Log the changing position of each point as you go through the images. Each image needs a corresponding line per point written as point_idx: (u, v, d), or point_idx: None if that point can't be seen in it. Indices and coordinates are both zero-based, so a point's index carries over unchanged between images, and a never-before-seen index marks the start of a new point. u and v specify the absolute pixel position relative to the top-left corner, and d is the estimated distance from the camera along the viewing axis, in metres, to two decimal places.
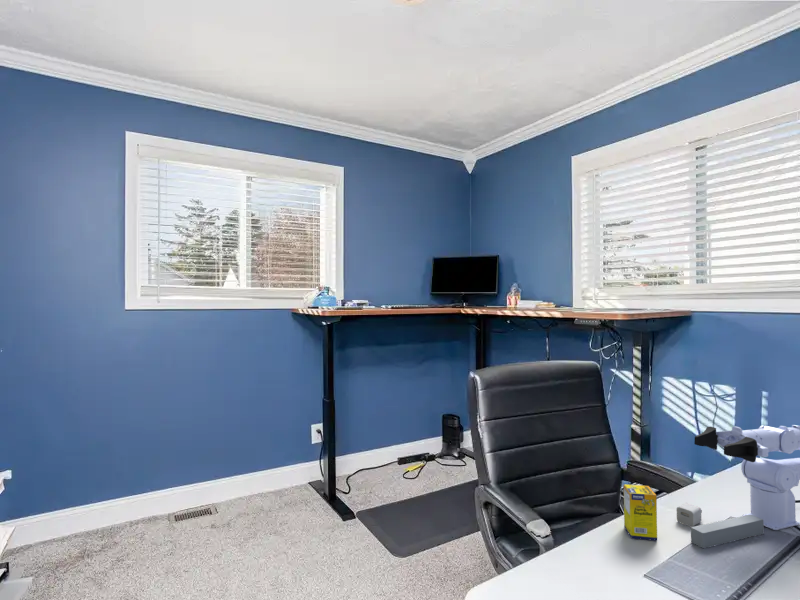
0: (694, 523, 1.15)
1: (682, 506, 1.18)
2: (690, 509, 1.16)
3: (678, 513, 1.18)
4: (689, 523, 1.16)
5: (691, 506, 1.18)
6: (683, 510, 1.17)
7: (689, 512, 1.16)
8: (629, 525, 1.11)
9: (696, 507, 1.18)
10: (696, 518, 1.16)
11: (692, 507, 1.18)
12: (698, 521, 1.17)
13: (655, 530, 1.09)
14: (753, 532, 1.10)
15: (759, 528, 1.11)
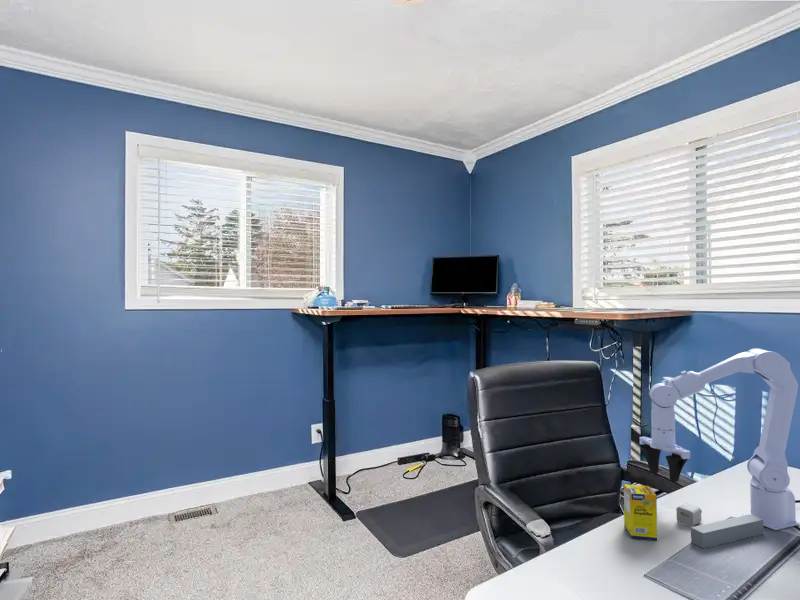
0: (694, 523, 1.15)
1: (682, 506, 1.18)
2: (690, 509, 1.16)
3: (678, 513, 1.18)
4: (689, 523, 1.16)
5: (691, 506, 1.18)
6: (683, 510, 1.17)
7: (689, 512, 1.16)
8: (629, 525, 1.11)
9: (696, 507, 1.17)
10: (696, 518, 1.16)
11: (692, 507, 1.18)
12: (698, 521, 1.16)
13: (655, 530, 1.09)
14: (753, 532, 1.10)
15: (759, 528, 1.11)
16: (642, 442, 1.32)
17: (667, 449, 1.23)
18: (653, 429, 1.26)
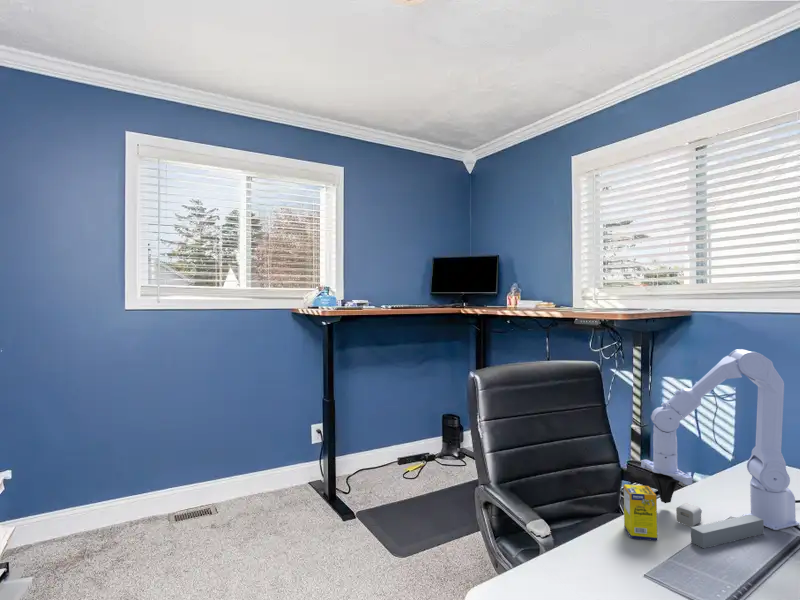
0: (694, 523, 1.15)
1: (682, 506, 1.18)
2: (690, 509, 1.16)
3: (678, 513, 1.18)
4: (689, 523, 1.16)
5: (691, 506, 1.18)
6: (683, 510, 1.17)
7: (689, 512, 1.16)
8: (629, 525, 1.11)
9: (696, 507, 1.17)
10: (696, 518, 1.16)
11: (691, 507, 1.18)
12: (698, 521, 1.16)
13: (655, 530, 1.09)
14: (753, 532, 1.10)
15: (759, 528, 1.11)
16: (644, 465, 1.31)
17: (669, 474, 1.22)
18: (655, 453, 1.26)
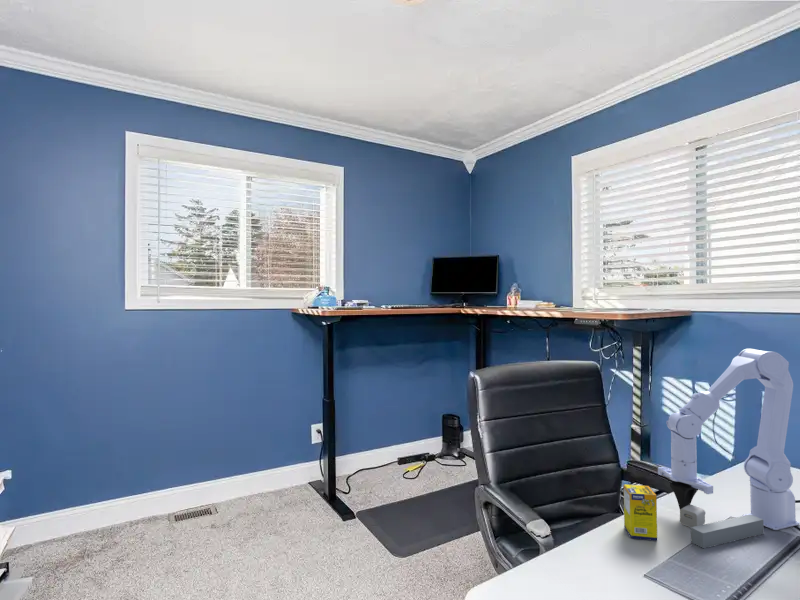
0: (697, 525, 1.14)
1: (685, 508, 1.17)
2: (694, 511, 1.15)
3: (681, 515, 1.17)
4: (692, 525, 1.15)
5: (695, 508, 1.17)
6: (686, 512, 1.16)
7: (693, 514, 1.15)
8: (629, 525, 1.11)
9: (700, 509, 1.16)
10: (699, 520, 1.15)
11: (695, 509, 1.16)
12: (702, 523, 1.15)
13: (655, 530, 1.09)
14: (753, 532, 1.10)
15: (759, 528, 1.11)
16: (661, 473, 1.26)
17: (688, 482, 1.17)
18: (673, 460, 1.20)
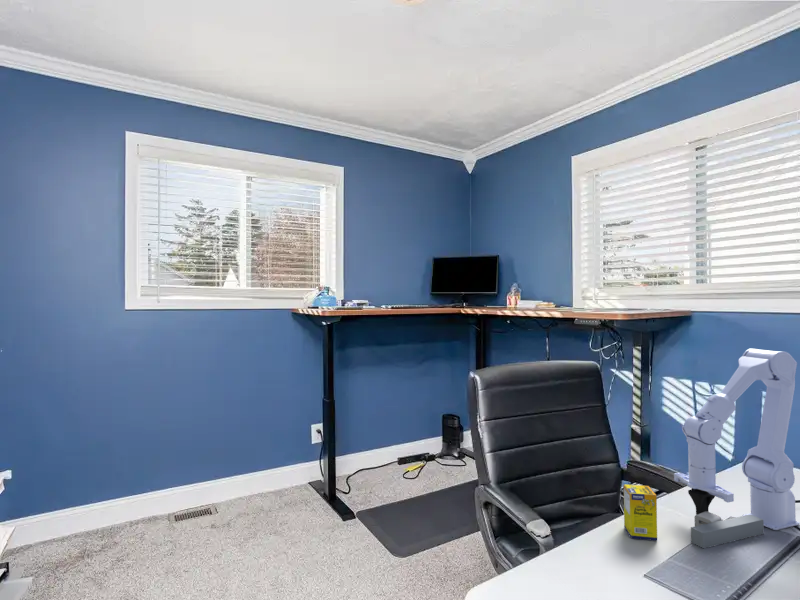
0: None
1: (701, 514, 1.13)
2: (709, 518, 1.11)
3: (696, 521, 1.13)
4: None
5: (711, 515, 1.13)
6: (701, 518, 1.12)
7: (707, 521, 1.11)
8: (629, 525, 1.11)
9: (716, 516, 1.12)
10: None
11: (711, 515, 1.12)
12: None
13: (655, 530, 1.09)
14: (753, 532, 1.10)
15: (759, 528, 1.11)
16: (677, 479, 1.22)
17: (707, 490, 1.12)
18: (691, 467, 1.16)
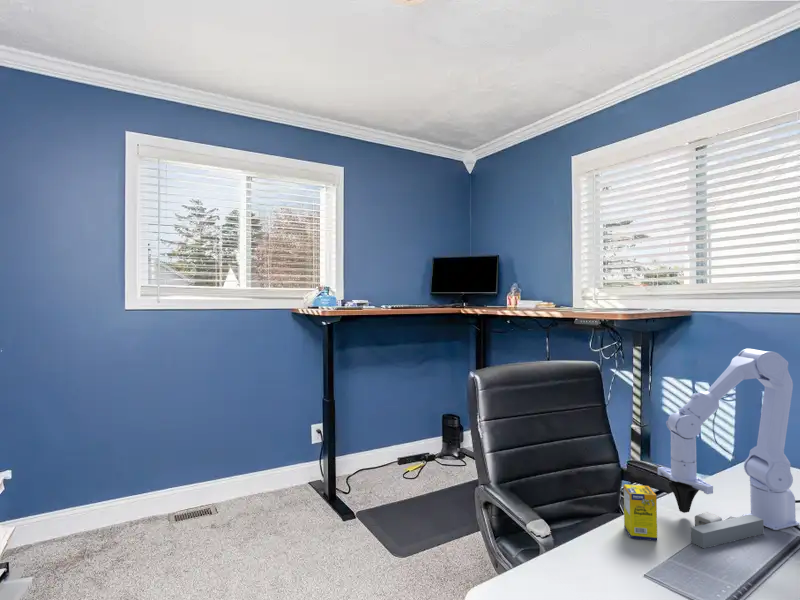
0: None
1: (701, 515, 1.13)
2: (709, 518, 1.11)
3: (696, 522, 1.13)
4: None
5: (711, 515, 1.13)
6: (701, 519, 1.12)
7: (707, 521, 1.11)
8: (629, 525, 1.11)
9: (716, 517, 1.12)
10: None
11: (711, 516, 1.12)
12: None
13: (655, 530, 1.09)
14: (753, 532, 1.10)
15: (759, 528, 1.11)
16: (660, 473, 1.26)
17: (688, 483, 1.17)
18: (673, 461, 1.20)
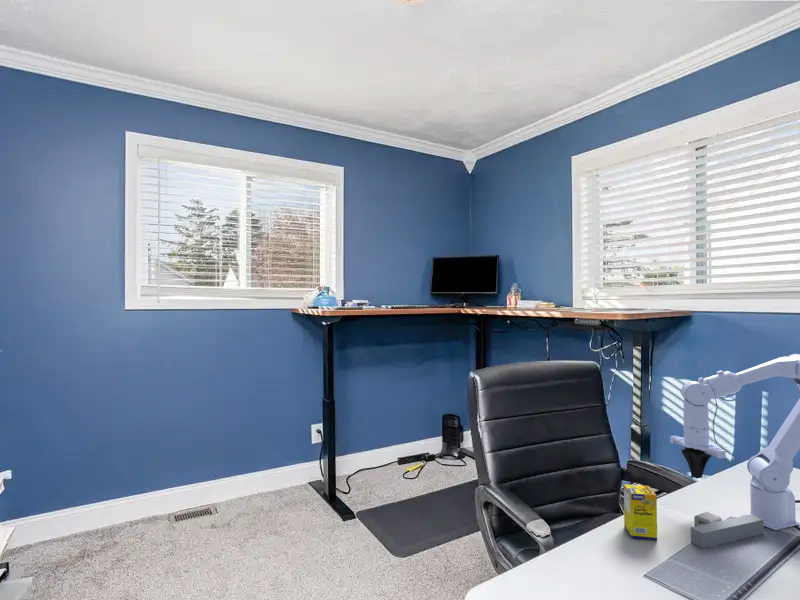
0: None
1: (700, 515, 1.13)
2: (708, 518, 1.11)
3: (696, 522, 1.13)
4: None
5: (711, 515, 1.13)
6: (701, 519, 1.12)
7: (707, 521, 1.11)
8: (629, 525, 1.11)
9: (716, 517, 1.12)
10: None
11: (711, 516, 1.12)
12: None
13: (655, 530, 1.09)
14: (753, 532, 1.10)
15: (759, 528, 1.11)
16: (673, 441, 1.29)
17: (701, 448, 1.20)
18: (686, 428, 1.23)
